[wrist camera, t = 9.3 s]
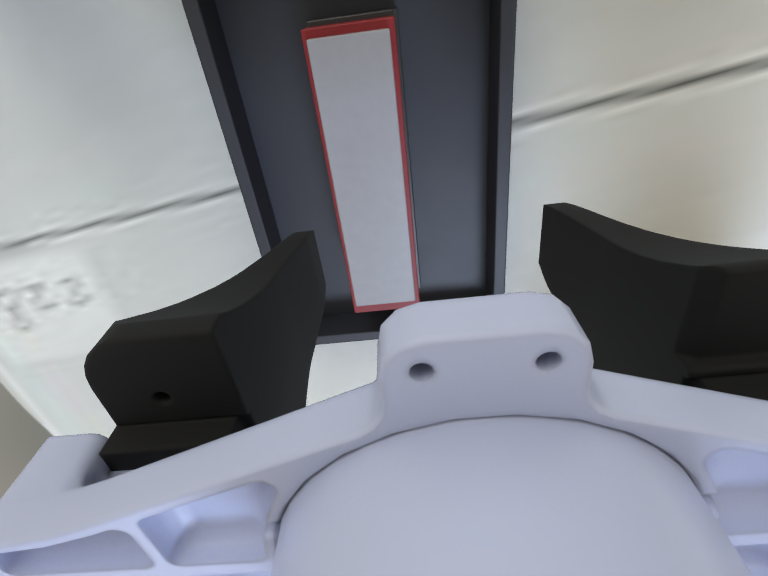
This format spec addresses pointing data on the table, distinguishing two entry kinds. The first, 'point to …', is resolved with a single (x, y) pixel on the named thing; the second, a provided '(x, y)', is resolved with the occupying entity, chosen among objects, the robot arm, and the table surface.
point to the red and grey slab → (367, 152)
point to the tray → (425, 130)
